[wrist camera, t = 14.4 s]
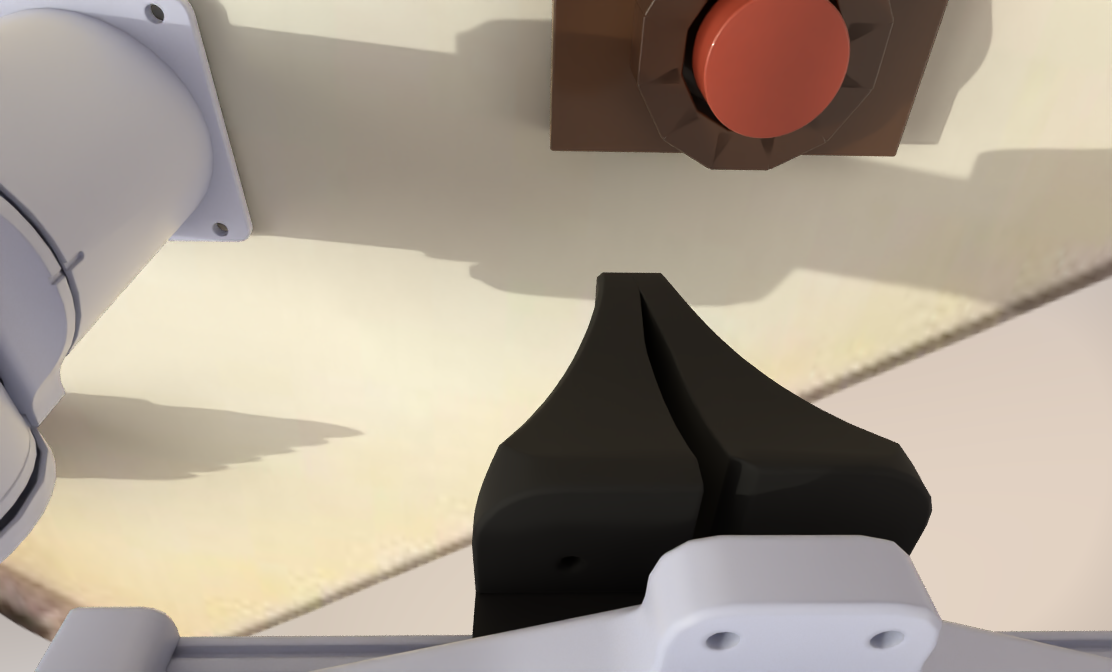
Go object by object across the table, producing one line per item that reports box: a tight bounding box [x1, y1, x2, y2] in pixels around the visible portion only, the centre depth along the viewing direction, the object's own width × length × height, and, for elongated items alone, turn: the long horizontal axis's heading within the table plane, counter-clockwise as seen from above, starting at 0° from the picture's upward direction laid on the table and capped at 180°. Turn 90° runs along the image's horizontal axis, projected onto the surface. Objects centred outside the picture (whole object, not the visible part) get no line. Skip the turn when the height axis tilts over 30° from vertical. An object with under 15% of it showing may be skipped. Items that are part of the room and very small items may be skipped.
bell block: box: [550, 0, 948, 170], centre depth 19 cm, size 11×7×4 cm, turn 88°
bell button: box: [692, 0, 850, 138], centre depth 18 cm, size 4×4×2 cm
